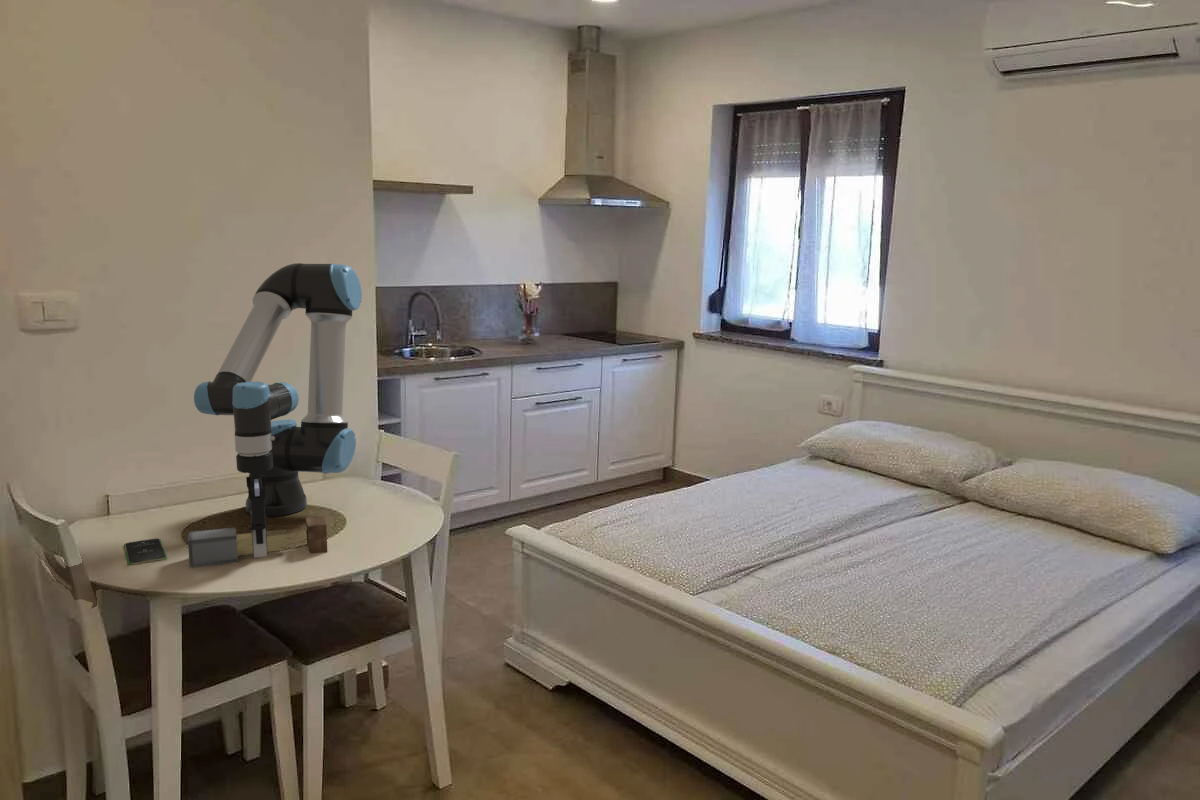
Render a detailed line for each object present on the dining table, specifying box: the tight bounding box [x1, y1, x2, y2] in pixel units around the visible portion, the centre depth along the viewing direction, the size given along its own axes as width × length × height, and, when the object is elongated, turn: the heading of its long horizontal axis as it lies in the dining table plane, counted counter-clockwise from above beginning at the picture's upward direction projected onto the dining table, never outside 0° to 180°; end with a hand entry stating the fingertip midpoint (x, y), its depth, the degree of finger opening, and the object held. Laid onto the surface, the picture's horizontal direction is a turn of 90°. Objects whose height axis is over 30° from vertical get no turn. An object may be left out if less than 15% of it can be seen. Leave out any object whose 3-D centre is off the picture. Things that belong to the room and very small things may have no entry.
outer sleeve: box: [187, 527, 238, 569], centre depth 190 cm, size 10×6×6 cm
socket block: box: [305, 515, 328, 555], centre depth 198 cm, size 4×7×6 cm, turn 23°
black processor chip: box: [123, 537, 168, 566], centre depth 194 cm, size 8×1×15 cm
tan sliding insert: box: [236, 508, 288, 556], centre depth 192 cm, size 18×4×9 cm, turn 113°
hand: (260, 552), depth 194 cm, fingers closed on tan sliding insert, 4 cm apart
